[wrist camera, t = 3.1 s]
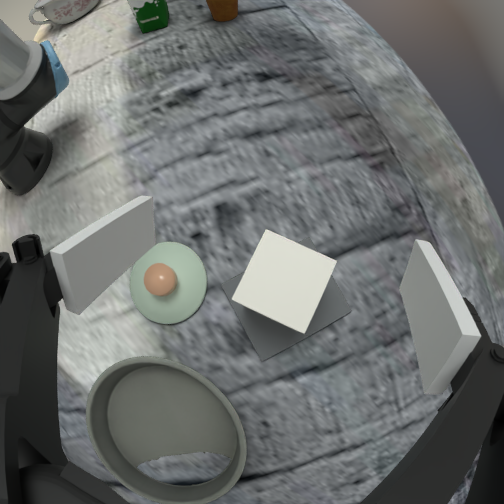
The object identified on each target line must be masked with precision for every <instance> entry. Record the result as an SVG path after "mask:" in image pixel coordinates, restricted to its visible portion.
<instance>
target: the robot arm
mask: <svg viewBox="0 0 504 504" xmlns="http://www.w3.org/2000/svg"><path fill="white" fill-rule="evenodd" d="M68 84H69V78H68V76H67V74H66V72H65V70H64V68H63V66H62V64H61V62H60V61H59V59H58V57H57V55H56V53H55V51H54V49H53V47H52V45H51V43H50V41H48V40H47V41H44V42H42V43H40V44H38V43H37V42H35V41H24V42H23V41H22V40H21V39H20V38H19V37H18V36H17V35H16V34H15V33H14V32H13V31H12V30H11V29H10V28H9V27H8V26H7V25H6V24H5V23H4V22H3V21H2V20H1V19H0V180H1V181H2V183H3V184H4V186H5V187H6V188H7V189H8V190H9V191H10V192H12V193H14V194H15V195H22V194H24V193H26V192H28V191H29V190H31V189H32V188H33V187H34V186H35V185H36V184H37V183H38V181H39V180H40V179H41V177H42V176H43V174H44V173H45V171H46V169H47V167H48V165H49V162H50V159H51V156H52V150H53V147H52V142H51V140H50V139H49V138H48V137H47V136H46V135H45V134H43V133H41V132H37V131H34V130H31V129H28V128H25V127H24V125H25V124H26V123H27V122H28V121H29V120H30V119H31V118H32V117H33V116H34V115H36V114H37V113H38V112H39V111H40V110H41V109H42V108H44V107H45V106H46V105H47V104H48V103H49V102H51V101H52V100H53V99H54V98H56V97H57V96H58V94H59V93H61V92H62V91H63V90H64V89H65V88H66V87H67V86H68ZM155 245H156V240H155V227H154V211H153V197H149V196H139V197H137V198H135V199H134V200H132V201H130V202H128V203H126V204H125V205H123V206H121V207H119V208H118V209H116V210H114V211H112V212H111V213H109V214H107V215H106V216H104V217H102V218H101V219H99V220H97V221H96V222H94V223H92V224H91V225H89V226H87V227H86V228H84V229H83V230H81V231H79V232H78V233H76V234H75V235H73V236H71V237H70V238H68V239H67V240H65V241H64V242H62V243H61V244H59V245H58V246H56V247H55V248H53V249H52V250H50V252H49V253H47V254H46V255H45V256H44V254H43V250H42V246H41V242H40V237H39V236H38V235H35V234H31V235H26V236H23V237H21V238H18V239H17V240H16V241H14V242H13V243H12V247H13V250H14V254H15V258H16V261H17V263H11V259H10V256H9V254H8V253H7V252H1V253H0V504H130V503H128V502H127V501H126V500H125V499H123V498H122V497H121V496H120V495H118V494H117V493H116V492H115V491H113V490H112V489H111V488H110V487H109V486H108V485H106V484H105V483H104V482H103V481H101V480H100V479H98V478H96V477H94V476H93V475H91V474H89V473H88V472H86V471H84V470H83V469H81V468H80V467H78V466H76V465H75V464H73V463H72V462H70V461H69V462H68V460H67V458H66V456H65V454H64V452H63V449H62V446H61V439H60V429H59V416H58V398H57V349H58V330H59V317H60V307H59V304H58V302H59V301H60V300H61V299H62V298H63V300H64V303H65V306H66V309H67V310H69V311H71V312H73V313H76V314H78V315H80V314H81V313H82V312H83V311H84V310H85V309H86V308H87V307H88V306H89V305H90V304H91V303H92V302H93V301H94V300H95V299H96V298H97V297H98V296H99V295H100V294H101V293H102V292H104V291H105V290H106V289H107V288H108V287H109V286H110V285H111V284H112V283H113V282H114V281H115V280H116V279H118V278H119V277H120V276H121V275H122V274H123V273H124V272H125V271H126V270H127V269H129V268H130V267H131V266H132V265H133V264H134V263H135V262H136V261H138V260H139V259H140V258H141V257H142V256H143V255H144V254H145V253H147V252H148V251H149V250H150V249H151V248H152V247H153V246H155ZM399 289H400V293H401V296H402V299H403V303H404V306H405V310H406V314H407V317H408V321H409V325H410V329H411V333H412V337H413V341H414V345H415V350H416V354H417V359H418V363H419V368H420V373H421V378H422V383H423V389H424V394H443V392H444V391H445V390H446V389H447V387H448V386H449V384H450V383H451V387H452V391H453V392H452V393H451V395H450V396H449V397H448V398H447V400H446V401H445V402H444V403H443V405H442V406H441V407H440V408H439V409H438V411H439V412H438V414H437V415H436V416H435V418H434V419H433V421H432V422H431V423H430V425H429V426H428V428H427V429H426V430H425V432H424V433H423V434H422V436H421V437H420V438H419V439H418V441H417V442H416V443H415V444H414V446H413V447H412V448H411V449H410V451H409V452H408V453H407V454H406V455H405V457H404V458H403V459H402V460H401V461H400V462H399V464H398V465H397V466H396V467H395V468H394V469H393V470H392V471H391V472H390V474H389V475H388V476H387V477H386V478H385V479H384V480H383V481H382V482H381V483H380V484H379V485H378V486H377V487H376V488H375V489H374V490H373V491H372V492H371V493H370V494H369V495H368V496H367V497H366V498H365V499H364V500H363V501H362V502H361V503H360V504H448V502H449V501H450V499H451V498H452V496H453V495H454V493H455V492H456V490H457V488H458V487H459V485H460V484H461V482H462V480H463V479H464V477H465V475H466V474H467V472H468V470H469V468H470V466H471V465H472V463H473V461H474V459H475V457H476V455H477V453H478V451H479V449H480V447H481V445H482V448H481V452H480V456H479V460H478V464H477V468H476V471H475V474H474V478H473V481H472V484H471V487H470V490H469V493H468V496H467V499H466V502H465V504H504V348H503V347H502V346H500V345H498V344H496V343H492V342H491V339H490V337H489V335H488V333H487V331H486V329H485V327H484V325H483V323H481V319H480V317H479V316H478V313H477V311H476V310H475V308H474V306H473V305H472V304H471V303H470V302H469V301H468V300H467V299H466V298H464V297H462V296H461V295H460V293H459V291H458V289H457V287H456V285H455V284H454V282H453V280H452V278H451V277H450V275H449V273H448V271H447V270H446V268H445V266H444V265H443V263H442V261H441V260H440V258H439V256H438V255H437V253H436V252H435V250H434V248H433V247H432V245H431V244H430V242H426V241H422V240H417V239H416V240H415V243H414V246H413V250H412V253H411V256H410V259H409V262H408V265H407V268H406V271H405V274H404V277H403V280H402V282H401V285H400V288H399ZM482 443H483V444H482Z"/></svg>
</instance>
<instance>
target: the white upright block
mask: <svg viewBox="0 0 504 504" xmlns="http://www.w3.org/2000/svg"><path fill="white" fill-rule="evenodd" d="M336 262H337V261H336V260H333V259H331V258H329V257H327V256H325V255H322V254H320V253H318V252H316V251H314V250H311V249H309V248H307V247H305V246H303V245H300V244H298V243H296V242H294V241H291V240H289V239H287V238H285V237H282V236H280V235H278V234H276V233H273V232H271V231H269V230H267V229H266V230H265V232H264V234H263V236H262V238H261V240H260V242H259V245H258V247H257V249H256V251H255V253H254V255H253V257H252V259H251V261H250V263H249V265H248V267H247V269H246V271H245V273H244V275H243V277H242V279H241V281H240V283H239V285H238V287H237V289H236V291H235V293H234V295H233V297H232V300H234V301H236V302H237V303H239V304H241V305H243V306H245V307H247V308H249V309H251V310H253V311H255V312H257V313H260V314H262V315H264V316H266V317H268V318H270V319H272V320H274V321H276V322H279V323H281V324H283V325H285V326H287V327H289V328H292V329H294V330H296V331H298V332H301V333H304V334H305V332H306V329H307V327H308V325H309V323H310V321H311V319H312V317H313V314H314V312H315V310H316V308H317V306H318V303H319V301H320V299H321V297H322V295H323V292H324V290H325V288H326V285H327V283H328V281H329V279H330V276H331V274H332V272H333V269H334V267H335V264H336Z"/></svg>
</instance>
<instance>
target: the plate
mask: <svg viewBox="0 0 504 504" xmlns="http://www.w3.org/2000/svg"><path fill="white" fill-rule="evenodd" d="M156 263H163V264H165V265H167V266H169V267H171V268H172V269H173V270H174V271H175V273H176V275H177V279H178V282H177V286H176V288H175V290H174V291H173V292H172V293H171V294H170V295H168V296H164V297H161V296H157V295H153V294H151V293H150V292H149V291H148V290H147V289H146V287H145V285H144V275H145V272H146V270H147V269H148V268H149V267H150V266H151V265H153V264H156ZM206 291H207V273H206V270H205V267H204V264H203V263H202V261H201V259H200V258H199V257H198V255H197V254H196V253H195V252H194V251H193V250H191V249H190V248H189V247H187V246H185V245H183V244H180V243H176V242H163V243H159V244H156V245H155V246H153V247H152V248H151V249H150V250H149V251H148V252H147V253H145V254H144V255H143V256H142V257H141V258H140V259H139V260H138V261H136V263H135V265H134V267H133V269H132V272H131V277H130V292H131V296H132V299H133V302H134V304H135V306H136V307H137V309H138V310H139V311H140V312H141V313H142V314H143V315H144V316H145V317H146V318H148V319H150V320H152V321H154V322H157V323H162V324H174V323H178V322H181V321H184V320H186V319H187V318H189V317H190V316H192V315H193V314H194V313H195V312H196V311H197V310H198V308H199V307H200V306H201V304H202V302H203V300H204V298H205V295H206Z"/></svg>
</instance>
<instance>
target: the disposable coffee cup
mask: <svg viewBox="0 0 504 504" xmlns="http://www.w3.org/2000/svg"><path fill="white" fill-rule="evenodd" d="M206 2H207V4H208V6H209V9H210V11H211V14H212V16H213V19H214V20H216V21H229V20H232V19H234V18H236V17H237V15H238V0H206Z"/></svg>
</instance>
